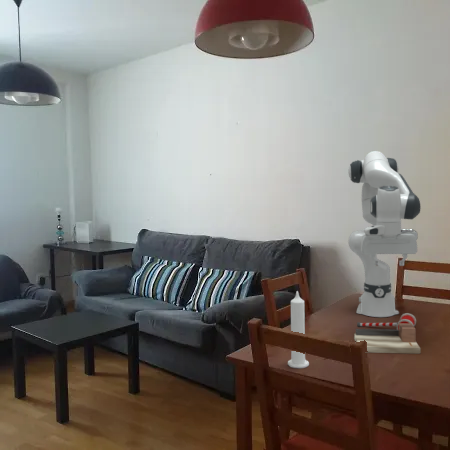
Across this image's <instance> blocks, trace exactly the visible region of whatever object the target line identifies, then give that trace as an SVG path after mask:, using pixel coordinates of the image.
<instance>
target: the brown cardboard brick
mask: <svg viewBox="0 0 450 450" xmlns="http://www.w3.org/2000/svg"><path fill="white" fill-rule="evenodd" d="M416 330H417V329H416V328H415V326H413V325H412V324H411V323H399V337H400V339H401V340H402V342H415V341H416V339H417V338H416Z"/></svg>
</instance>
